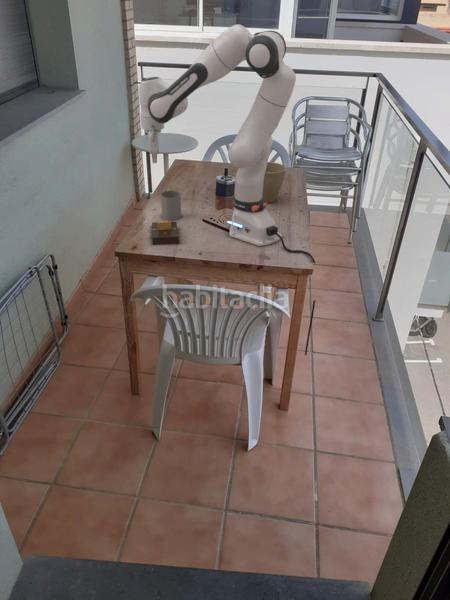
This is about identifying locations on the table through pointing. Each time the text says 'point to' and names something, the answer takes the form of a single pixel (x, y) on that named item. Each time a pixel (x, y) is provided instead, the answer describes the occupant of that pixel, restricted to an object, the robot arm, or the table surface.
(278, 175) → the plant pot
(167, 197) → the cup
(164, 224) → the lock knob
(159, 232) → the lock plate
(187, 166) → the table surface
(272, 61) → the robot arm
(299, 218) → the table surface
